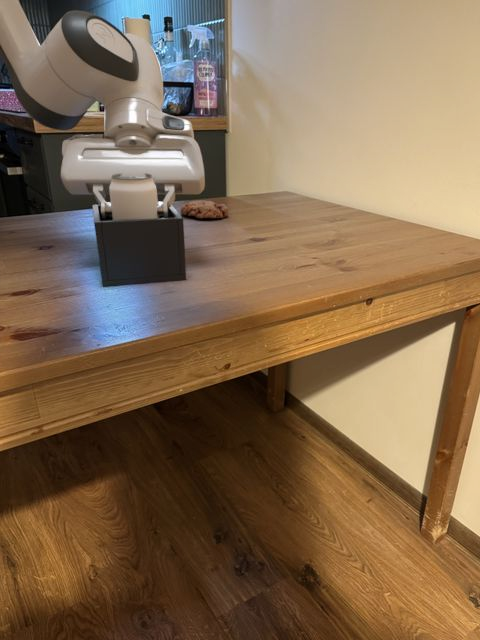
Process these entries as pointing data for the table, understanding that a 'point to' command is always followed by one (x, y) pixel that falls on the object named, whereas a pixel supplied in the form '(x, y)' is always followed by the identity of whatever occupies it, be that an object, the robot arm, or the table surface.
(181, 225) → the dark grey open box
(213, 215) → the cookie
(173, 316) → the table surface
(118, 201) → the can
